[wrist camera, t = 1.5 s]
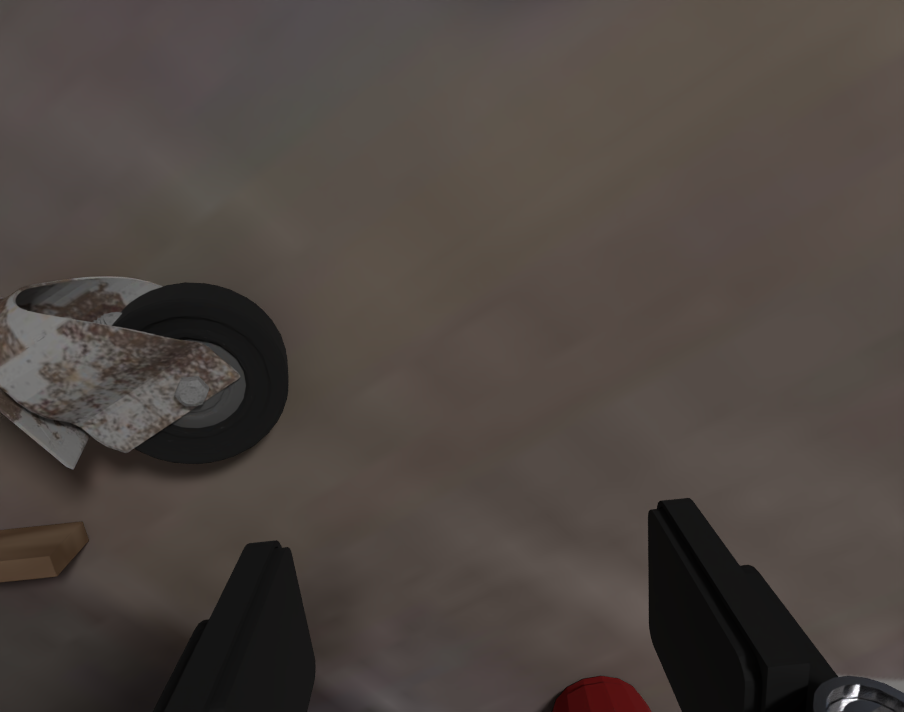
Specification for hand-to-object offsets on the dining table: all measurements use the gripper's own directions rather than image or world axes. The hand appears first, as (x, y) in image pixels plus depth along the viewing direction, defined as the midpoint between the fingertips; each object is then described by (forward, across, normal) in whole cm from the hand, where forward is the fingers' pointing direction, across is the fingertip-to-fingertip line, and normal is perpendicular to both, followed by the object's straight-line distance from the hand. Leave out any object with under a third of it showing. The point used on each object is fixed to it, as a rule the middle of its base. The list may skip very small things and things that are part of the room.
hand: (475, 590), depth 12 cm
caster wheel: (+20, +14, 0) cm, 24 cm away
